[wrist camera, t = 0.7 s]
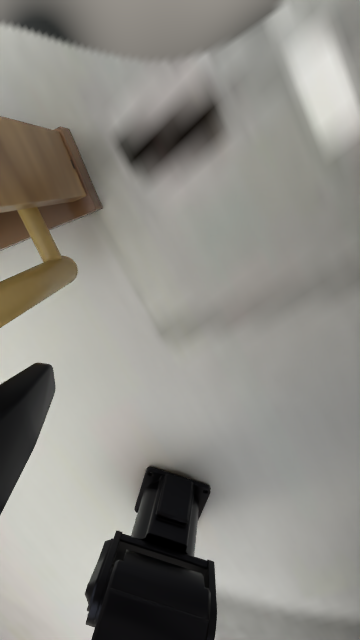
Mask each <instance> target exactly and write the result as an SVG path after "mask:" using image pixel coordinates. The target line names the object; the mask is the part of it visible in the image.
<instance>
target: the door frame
mask: <svg viewBox="0 0 360 640" xmlns="http://www.w3.org/2000/svg"><path fill="white" fill-rule="evenodd" d="M34 207H37V208H38V210H39V212H40V214H41V216H42V218H43V220H44V222H45V224H46V226H47V228H48V230H51V229H54V228H56V227H59V226H61V225H64V224H66V223H68V222H71V221H73V220H76V219H78V218H81V217H83V216H85V215H88V214H90V213H93V212H95V211H98V210H100V209H102V205H101V203H100V201H99V198H98V196H97V194H96V191H95V189H94V187H93V184H92V182H91V180H90V177H89V175H88V173H87V170H86V168H85V166H84V163H83V161H82V158H81V156H80V154H79V151H78V149H77V147H76V144H75V142H74V140H73V137H72V135H71V133H70V130H69V129H67V128H63V127H58V128H57V129H55V130H51V129H47V128H44V127H40V126H36V125H32V124H28V123H24V122H21V121H17V120H13V119H9V118H5V117H1V116H0V251H1V250H3V249H5V248H8V247H10V246H13V245H15V244H18V243H20V242H22V241H25V240H27V239H30V238H31V236H30V234H29V233H28V231H27V229H26V227H25V225H24V223H23V221H22V219H21V217H20V215H19V213H18V211H17V210H21V209H28V208H34Z"/></svg>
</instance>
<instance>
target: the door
mask: <svg viewBox="0 0 360 640" xmlns="http://www.w3.org/2000/svg"><path fill="white" fill-rule="evenodd" d="M17 211H18V213H19V215H20V217H21V219H22V221H23V223H24V225H25V227H26V229H27V231H28V233H29V234H30V236H31V238H32V240H33V242H34V244H35V246H36V248H37V250H38V252H39V254H40V256H41V258H42V260H43V262H44V263H41V264H39V265H37V266H35V267H32V268H30V269H28V270H26V271H23V272H21V273H19V274H17V275H15V276H12V277H10V278H8V279H6V280H3V281H1V282H0V328H1V327H2V326H4V325H5V324H7V323H9V322H10V321H12V320H13V319H15V318H16V317H18V316H19V315H21V314H23V313H24V312H26V311H27V310H29V309H30V308H32V307H33V306H35V305H37V304H38V303H40V302H41V301H43V300H44V299H46V298H47V297H49V296H51V295H52V294H54V293H55V292H57V291H58V290H60V289H61V288H63V287H65V286H66V285H68V284H69V283H71V282H72V281H73V280H74V279H75V278H76V276H77V273H78V269H77V265H76V263H75V262H74V261H73V260H72V259H71V258H69V257H67V256H61V254H60V252H59V250H58V248H57V246H56V244H55V242H54V240H53V238H52V236H51V234H50V232H49V230H48V228H47V226H46V224H45V222H44V220H43V218H42V216H41V214H40V212H39V210H38V208H37V207H34V208H28V209H21V210H17Z"/></svg>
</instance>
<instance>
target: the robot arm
mask: <svg viewBox="0 0 360 640" xmlns="http://www.w3.org/2000/svg"><path fill="white" fill-rule="evenodd" d="M54 393H55V379H54V372H53V367H52V366H51V365H50V364H44V363H35V364H33V365H31V366H30V367H28V368H27V369H25V370H23V371H22V372H20V373H18V374H17V375H15V376H14V377H12V378H10V379H9V380H7V381H5V382H4V383H2V384H1V385H0V515H1V513H2V511H3V509H4V507H5V505H6V503H7V501H8V499H9V497H10V495H11V493H12V491H13V489H14V487H15V485H16V483H17V481H18V479H19V477H20V475H21V473H22V471H23V469H24V467H25V465H26V463H27V461H28V459H29V457H30V455H31V453H32V451H33V449H34V447H35V444H36V442H37V439H38V437H39V434H40V431H41V429H42V426H43V423H44V421H45V418H46V415H47V413H48V410H49V407H50V404H51V402H52V399H53V396H54ZM150 472H151V473H150ZM210 489H211V488H210V486H209V485H206V484H203V483H200V482H197V481H194V480H191V479H188V478H184V477H181V476H178V475H175V474H172V473H169V472H165V471H162V470H159V469H156V468H153V467H148V468H147V469H146V472H145V476H144V479H143V482H142V486H141V489H140V492H139V496H138V499H137V502H136V506H135V511H136V512H137V513H138V514H137V517H136V521H135V524H134V528H133V531H132V535H131V536H129V535H125V534H122V532H120V531H116V533H115V536H114V539H111V540H108V541H105V543H104V546H103V549H102V552H101V554H100V557H99V560H98V562H97V565H96V567H95V569H94V572H93V574H92V576H91V579H90V581H89V583H88V586H87V589H86V592H85V595H86V598H87V601H88V604H89V605H88V608H87V611H89V613H88V617H87V621H86V625H89V626H92V627H95V630H94V633H93V636H92V640H214V638H215V631H216V621H217V603H216V585H215V568H214V562H213V561H210V560H207V561H206V560H203V559H200V558H197V557H194V551H195V542H196V532H197V523H198V520H199V517H200V515H201V513H202V510H203V508H204V506H205V504H206V501H207V499H208V497H209V495H210Z"/></svg>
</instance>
